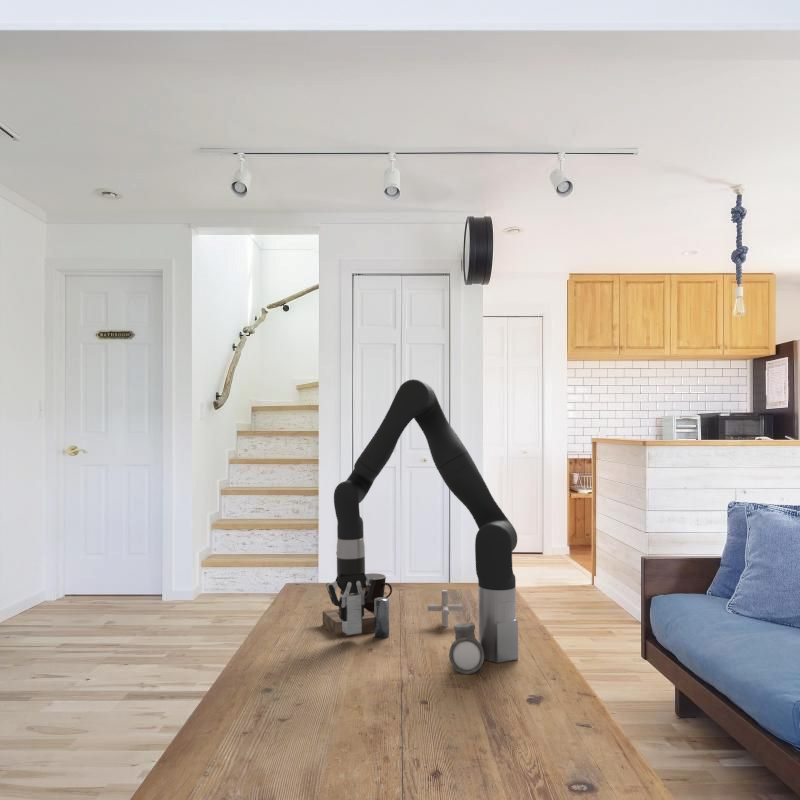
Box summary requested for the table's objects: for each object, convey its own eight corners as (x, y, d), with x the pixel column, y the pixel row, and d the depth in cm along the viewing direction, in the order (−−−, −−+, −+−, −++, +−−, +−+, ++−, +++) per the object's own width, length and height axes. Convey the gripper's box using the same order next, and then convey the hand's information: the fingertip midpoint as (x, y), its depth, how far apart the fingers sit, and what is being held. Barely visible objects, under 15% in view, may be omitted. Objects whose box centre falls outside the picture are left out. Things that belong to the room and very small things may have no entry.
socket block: (377, 631, 182) (377, 616, 182) (336, 637, 177) (336, 622, 177) (361, 619, 193) (361, 606, 193) (322, 625, 187) (322, 611, 188)
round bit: (391, 637, 176) (391, 600, 177) (377, 639, 175) (377, 601, 175) (385, 633, 180) (385, 596, 180) (372, 635, 178) (372, 598, 179)
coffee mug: (354, 606, 206) (354, 574, 207) (379, 603, 210) (379, 572, 210) (368, 616, 196) (368, 582, 196) (394, 612, 200) (394, 579, 200)
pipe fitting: (485, 674, 149) (481, 627, 151) (450, 675, 150) (446, 629, 152) (485, 661, 161) (481, 618, 162) (453, 663, 162) (449, 620, 163)
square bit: (361, 632, 172) (361, 594, 173) (347, 635, 171) (346, 596, 171) (356, 628, 176) (355, 591, 177) (342, 630, 174) (341, 593, 175)
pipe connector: (463, 631, 181) (463, 595, 182) (428, 631, 181) (427, 595, 182) (461, 620, 191) (460, 586, 192) (427, 620, 191) (427, 586, 192)
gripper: (330, 560, 168) (331, 627, 167) (380, 554, 174) (381, 619, 173) (321, 555, 175) (321, 619, 174) (369, 550, 181) (370, 612, 180)
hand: (351, 619), depth 174 cm, fingers closed on square bit, 4 cm apart
